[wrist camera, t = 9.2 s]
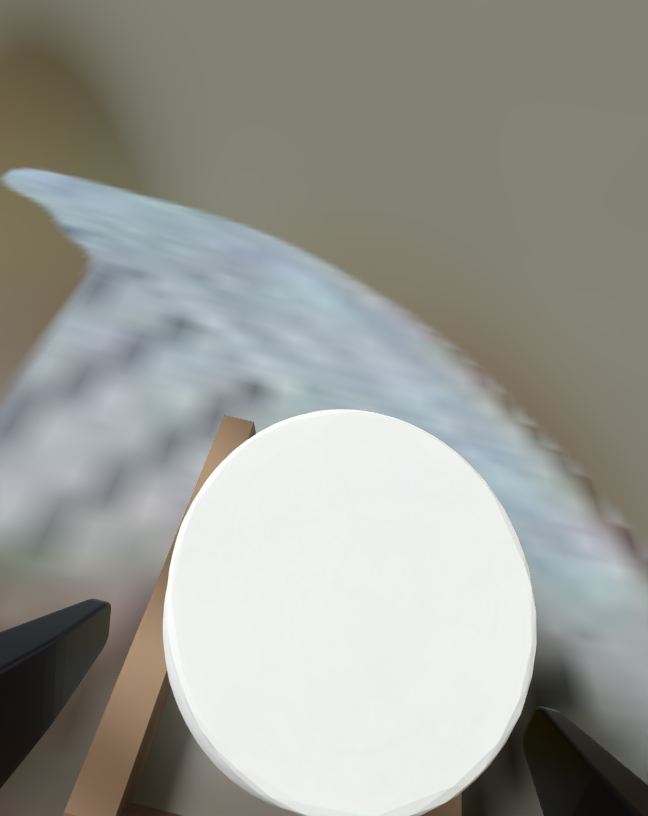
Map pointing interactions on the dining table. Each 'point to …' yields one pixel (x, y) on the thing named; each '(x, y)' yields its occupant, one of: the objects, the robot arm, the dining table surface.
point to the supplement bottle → (349, 618)
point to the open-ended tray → (165, 722)
